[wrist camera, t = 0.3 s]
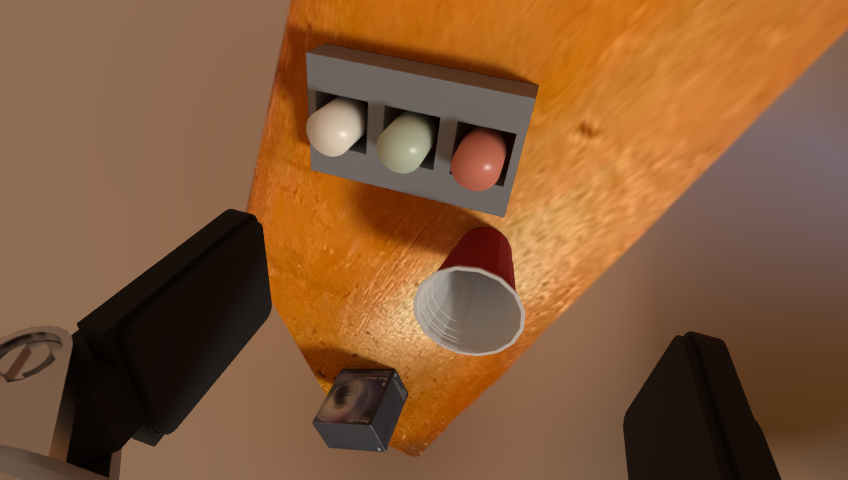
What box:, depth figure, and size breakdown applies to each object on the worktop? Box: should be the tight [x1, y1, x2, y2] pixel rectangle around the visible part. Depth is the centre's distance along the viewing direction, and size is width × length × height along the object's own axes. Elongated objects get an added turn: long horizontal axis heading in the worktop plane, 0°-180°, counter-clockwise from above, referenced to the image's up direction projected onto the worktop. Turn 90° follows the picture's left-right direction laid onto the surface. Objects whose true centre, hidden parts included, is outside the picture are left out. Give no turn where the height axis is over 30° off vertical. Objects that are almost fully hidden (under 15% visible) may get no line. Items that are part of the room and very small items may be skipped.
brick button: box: [451, 126, 508, 191], centre depth 40 cm, size 4×4×5 cm
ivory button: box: [306, 96, 368, 157], centre depth 43 cm, size 4×4×5 cm
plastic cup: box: [413, 227, 525, 356], centre depth 47 cm, size 11×11×12 cm
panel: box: [306, 44, 539, 217], centre depth 44 cm, size 12×21×4 cm, turn 83°
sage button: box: [377, 110, 437, 173], centre depth 42 cm, size 4×4×5 cm
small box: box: [312, 369, 408, 452], centre depth 68 cm, size 11×6×10 cm, turn 110°
